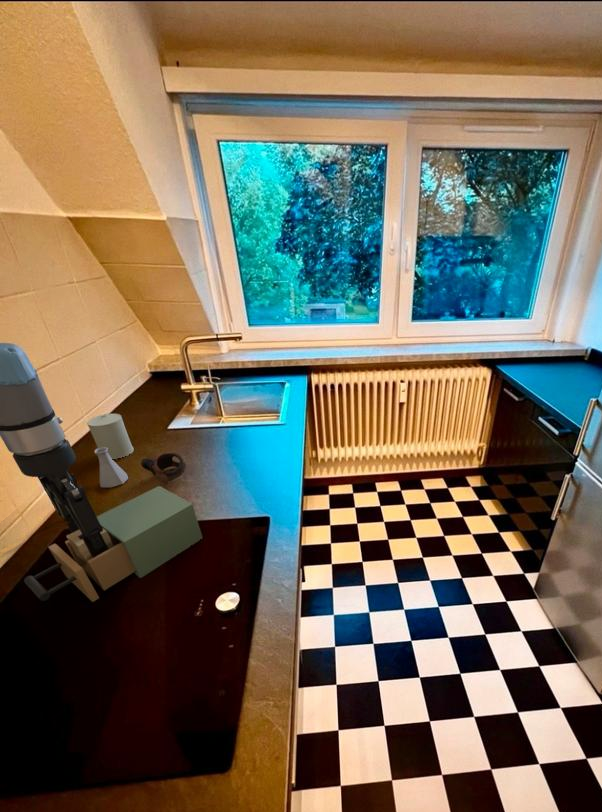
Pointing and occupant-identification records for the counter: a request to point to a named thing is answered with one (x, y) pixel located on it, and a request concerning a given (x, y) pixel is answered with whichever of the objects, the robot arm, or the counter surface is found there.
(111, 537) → the drawer
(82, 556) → the block
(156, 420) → the counter surface
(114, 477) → the flask
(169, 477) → the pottery mug
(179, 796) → the counter surface
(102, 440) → the can
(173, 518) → the cabinet
